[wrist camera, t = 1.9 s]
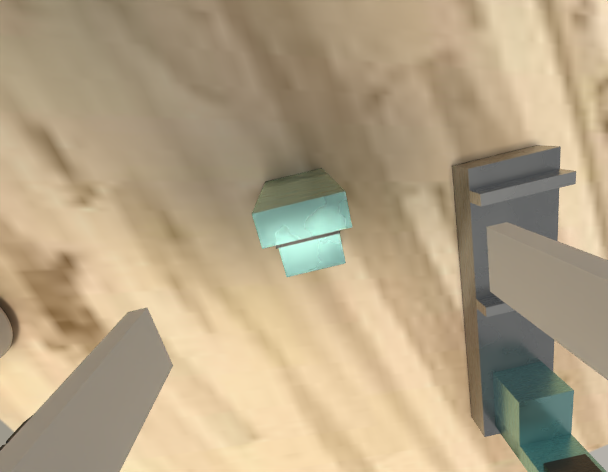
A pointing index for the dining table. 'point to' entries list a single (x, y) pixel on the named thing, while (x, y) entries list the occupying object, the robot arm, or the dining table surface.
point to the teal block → (303, 220)
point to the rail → (514, 312)
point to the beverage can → (5, 333)
